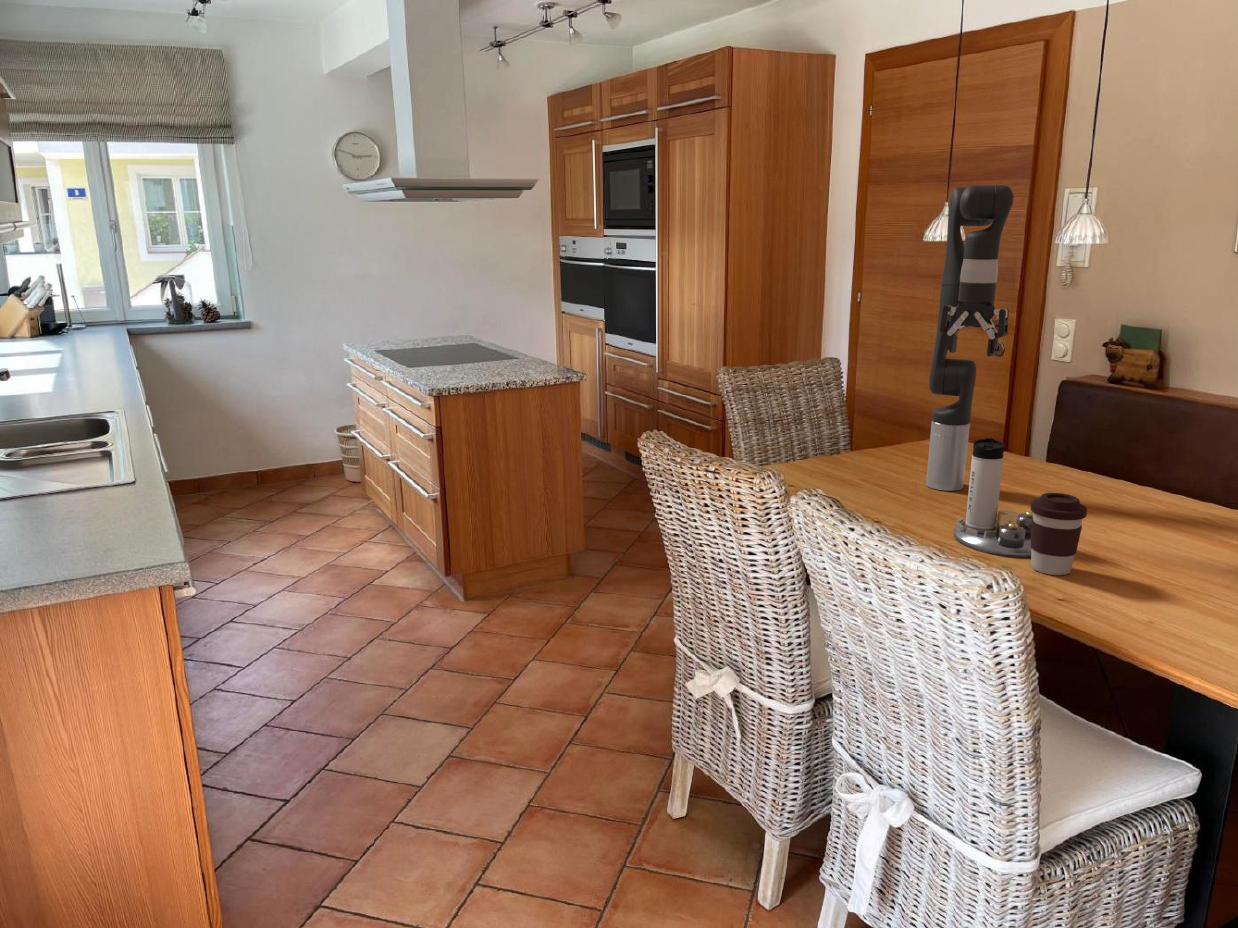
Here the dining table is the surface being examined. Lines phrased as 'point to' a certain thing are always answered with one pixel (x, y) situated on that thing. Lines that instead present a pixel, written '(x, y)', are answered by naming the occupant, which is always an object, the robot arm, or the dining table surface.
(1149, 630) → the dining table surface
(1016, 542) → the carrier plate
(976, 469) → the travel mug
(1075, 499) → the coffee cup
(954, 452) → the robot arm
